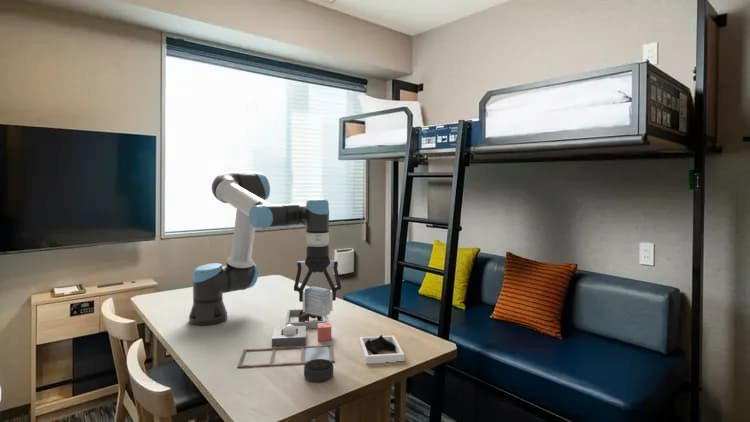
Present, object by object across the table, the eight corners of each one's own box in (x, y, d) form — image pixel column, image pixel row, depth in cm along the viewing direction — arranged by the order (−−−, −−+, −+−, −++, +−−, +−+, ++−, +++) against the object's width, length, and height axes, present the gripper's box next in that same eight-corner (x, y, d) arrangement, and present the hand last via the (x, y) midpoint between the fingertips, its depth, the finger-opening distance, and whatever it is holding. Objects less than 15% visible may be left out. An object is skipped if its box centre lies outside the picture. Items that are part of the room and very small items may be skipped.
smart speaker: (311, 368, 134) (311, 356, 134) (337, 372, 132) (337, 360, 131) (299, 381, 126) (299, 368, 126) (326, 385, 123) (326, 372, 123)
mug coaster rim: (285, 329, 168) (285, 323, 168) (287, 315, 186) (287, 309, 186) (325, 327, 171) (325, 321, 171) (323, 313, 188) (323, 308, 188)
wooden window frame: (237, 368, 134) (237, 366, 133) (243, 350, 147) (243, 349, 147) (334, 362, 139) (334, 361, 138) (332, 345, 152) (332, 344, 152)
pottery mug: (323, 328, 172) (313, 312, 169) (303, 337, 173) (293, 321, 170) (326, 312, 183) (317, 297, 180) (307, 320, 184) (298, 305, 182)
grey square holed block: (271, 346, 151) (271, 338, 151) (274, 334, 163) (274, 326, 162) (305, 345, 153) (305, 337, 153) (305, 333, 165) (305, 325, 164)
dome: (282, 341, 155) (282, 327, 154) (283, 336, 160) (283, 322, 159) (296, 341, 156) (296, 326, 155) (296, 336, 161) (296, 322, 160)
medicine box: (330, 314, 143) (330, 289, 142) (322, 317, 139) (322, 292, 139) (313, 310, 147) (313, 285, 147) (304, 313, 144) (304, 288, 143)
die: (317, 340, 157) (317, 326, 156) (317, 335, 162) (317, 321, 161) (331, 340, 158) (331, 325, 157) (330, 335, 163) (330, 321, 162)
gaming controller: (391, 355, 151) (380, 339, 154) (397, 347, 149) (386, 331, 152) (370, 363, 143) (359, 346, 146) (377, 355, 141) (365, 338, 144)
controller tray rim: (365, 363, 138) (365, 356, 137) (359, 343, 154) (359, 337, 154) (404, 361, 140) (404, 354, 140) (393, 342, 157) (393, 335, 156)
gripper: (284, 246, 136) (285, 315, 138) (350, 246, 140) (349, 312, 141) (285, 243, 144) (286, 308, 145) (348, 242, 147) (347, 305, 149)
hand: (317, 310), depth 143 cm, fingers closed on medicine box, 9 cm apart
